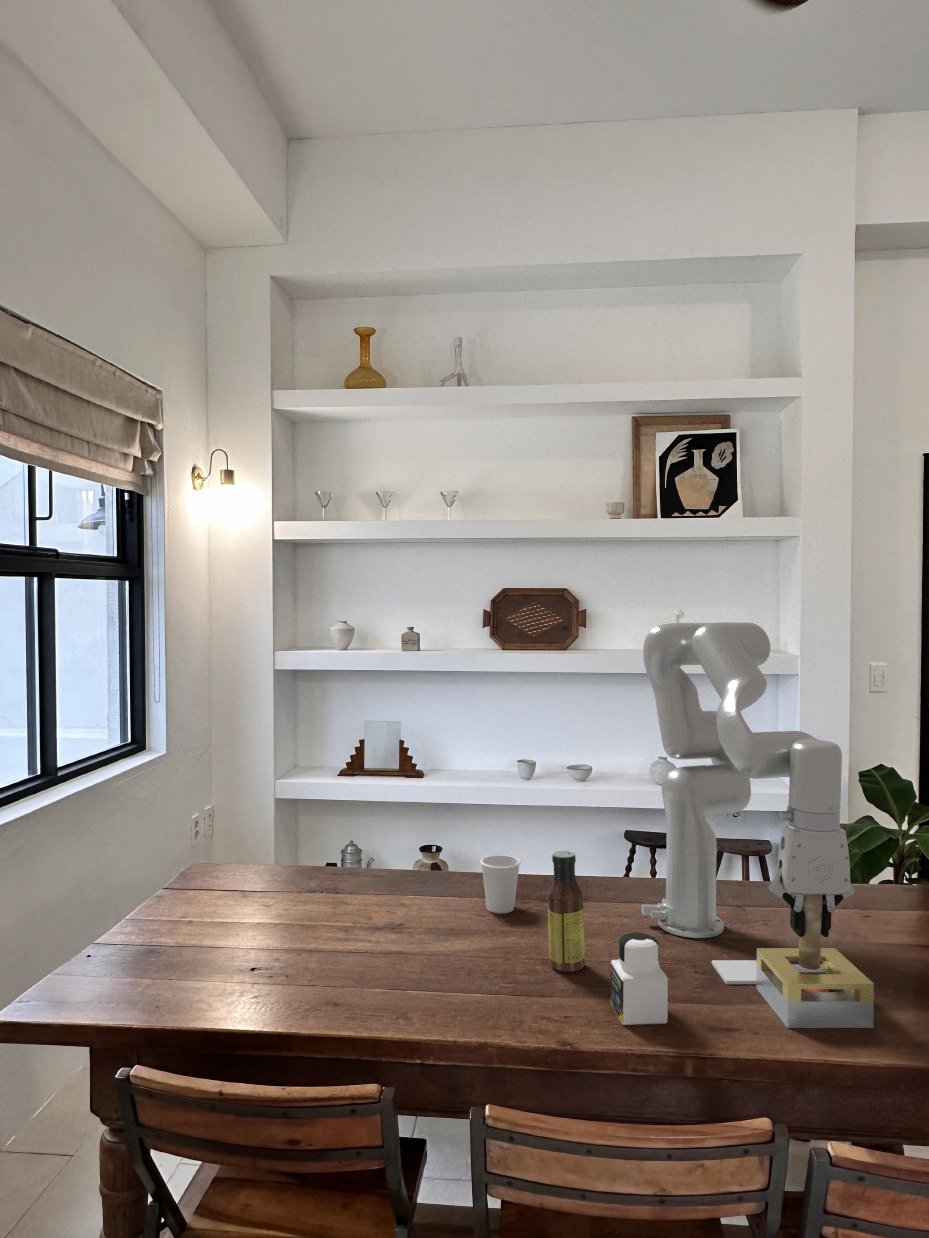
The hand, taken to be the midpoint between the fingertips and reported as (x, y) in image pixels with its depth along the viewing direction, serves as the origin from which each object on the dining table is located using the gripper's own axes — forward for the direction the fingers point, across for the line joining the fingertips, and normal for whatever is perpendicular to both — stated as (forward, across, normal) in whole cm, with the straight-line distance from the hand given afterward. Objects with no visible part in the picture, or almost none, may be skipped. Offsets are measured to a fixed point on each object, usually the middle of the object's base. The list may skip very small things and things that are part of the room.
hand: (810, 932), depth 134 cm
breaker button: (+11, 0, -1) cm, 11 cm away
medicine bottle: (+12, -28, -3) cm, 30 cm away
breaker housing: (+12, 0, -1) cm, 12 cm away
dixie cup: (+13, -47, +42) cm, 64 cm away
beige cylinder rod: (+5, 0, 0) cm, 5 cm away
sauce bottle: (+13, -37, +14) cm, 41 cm away
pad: (+12, -7, +11) cm, 18 cm away
